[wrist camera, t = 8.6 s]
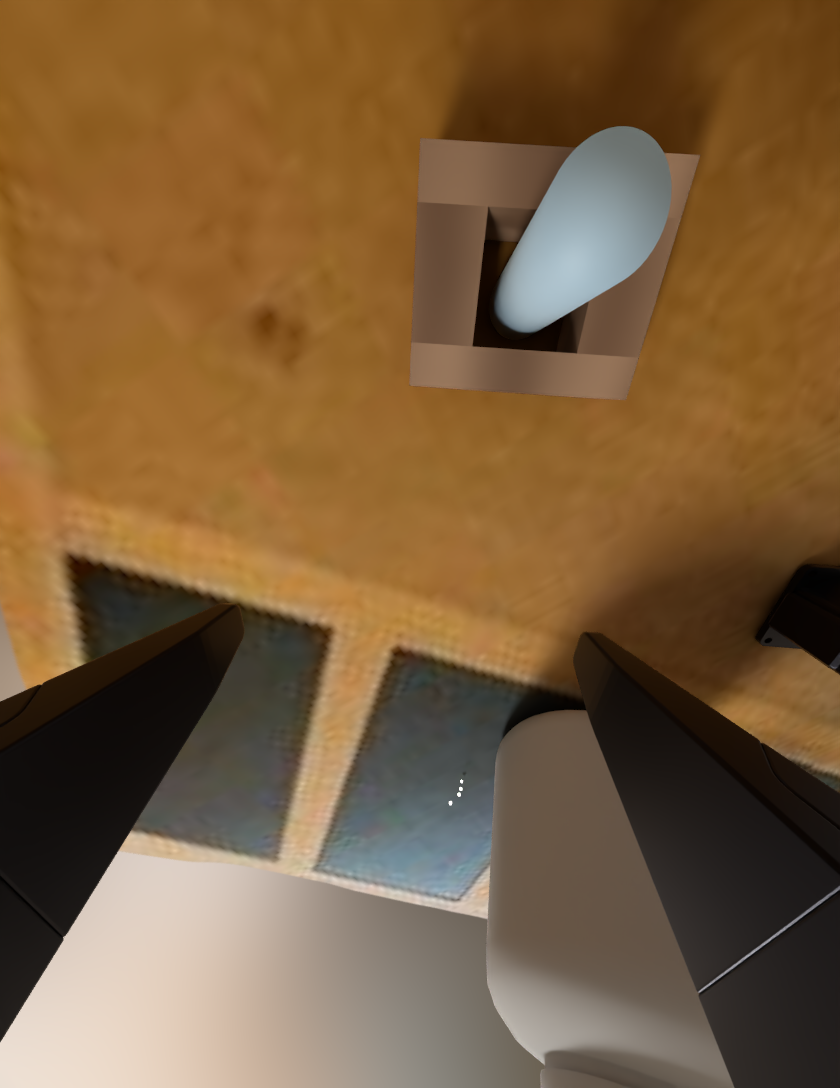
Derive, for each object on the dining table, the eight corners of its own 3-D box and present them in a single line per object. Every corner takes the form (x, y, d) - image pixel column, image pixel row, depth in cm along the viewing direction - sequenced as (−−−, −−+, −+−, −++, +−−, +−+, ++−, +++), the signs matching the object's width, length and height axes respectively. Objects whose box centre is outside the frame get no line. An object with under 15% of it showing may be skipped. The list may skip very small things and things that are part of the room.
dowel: (557, 268, 15) (693, 130, 7) (543, 342, 17) (644, 294, 9) (494, 263, 16) (559, 121, 7) (484, 337, 17) (531, 286, 9)
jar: (458, 798, 34) (504, 1591, 12) (432, 700, 28) (418, 1950, 6) (650, 784, 32) (1177, 1748, 9) (665, 675, 26) (2271, 2654, 3)
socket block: (650, 200, 14) (700, 155, 12) (596, 398, 18) (625, 400, 15) (423, 185, 14) (420, 138, 12) (413, 386, 18) (409, 385, 15)
